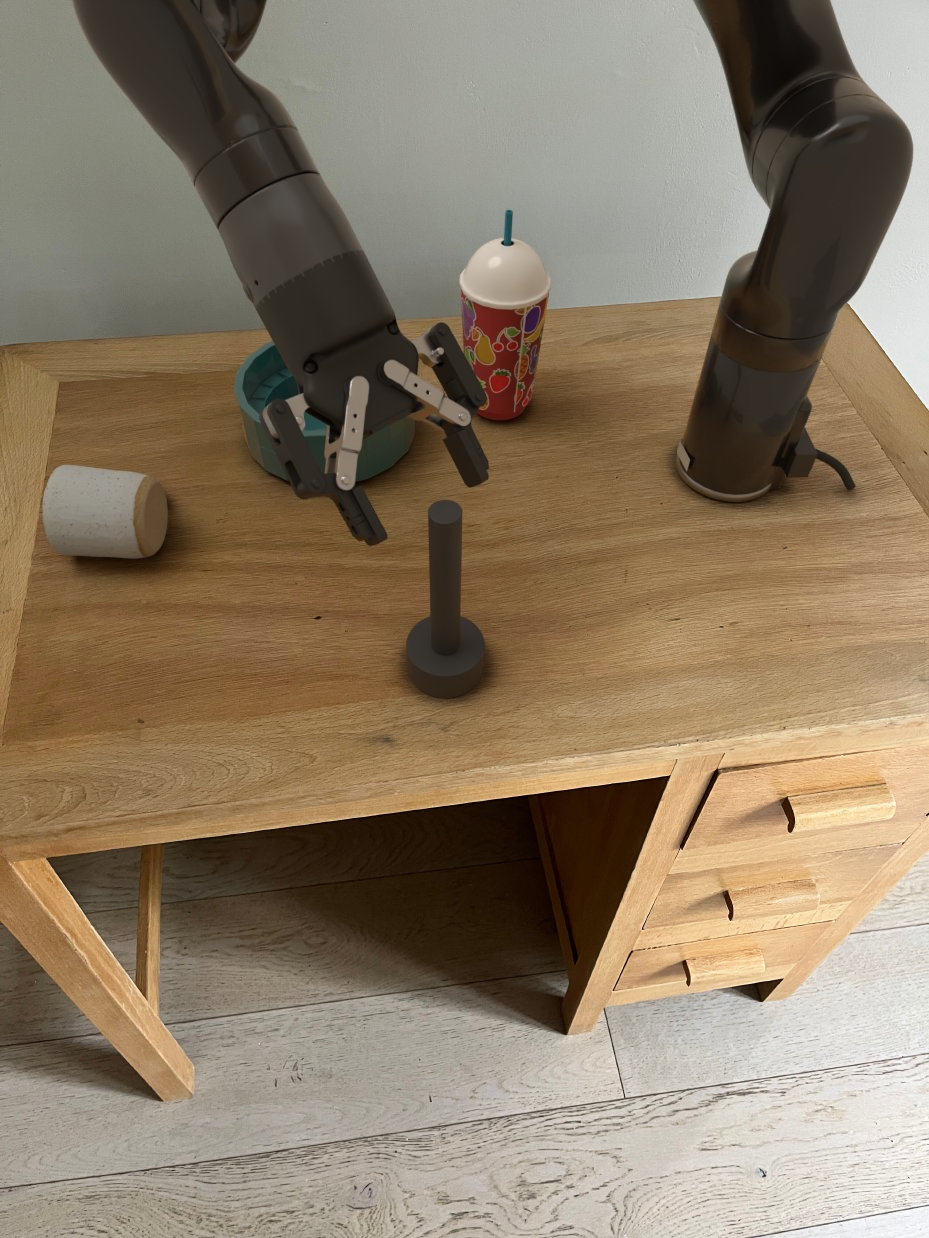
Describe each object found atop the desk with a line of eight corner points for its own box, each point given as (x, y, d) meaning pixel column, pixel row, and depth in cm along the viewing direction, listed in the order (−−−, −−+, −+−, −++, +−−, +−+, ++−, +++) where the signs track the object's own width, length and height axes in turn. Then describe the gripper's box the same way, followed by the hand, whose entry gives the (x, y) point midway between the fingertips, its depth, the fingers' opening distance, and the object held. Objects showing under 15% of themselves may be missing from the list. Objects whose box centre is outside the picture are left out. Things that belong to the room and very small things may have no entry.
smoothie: (555, 411, 88) (578, 218, 72) (488, 440, 85) (497, 246, 69) (507, 370, 92) (519, 180, 77) (442, 396, 89) (441, 204, 74)
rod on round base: (480, 635, 70) (488, 478, 56) (486, 696, 66) (496, 544, 53) (406, 637, 69) (397, 480, 56) (408, 700, 66) (398, 547, 52)
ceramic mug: (157, 576, 73) (132, 510, 67) (62, 573, 73) (28, 507, 67) (187, 493, 80) (166, 426, 74) (99, 490, 80) (71, 423, 74)
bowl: (413, 380, 91) (411, 326, 86) (417, 488, 81) (415, 433, 75) (255, 384, 90) (243, 329, 85) (238, 493, 80) (224, 438, 75)
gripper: (220, 295, 46) (365, 559, 50) (424, 214, 52) (540, 455, 56) (192, 338, 53) (322, 569, 56) (376, 262, 59) (482, 474, 62)
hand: (430, 512), depth 56 cm, fingers open, 8 cm apart
